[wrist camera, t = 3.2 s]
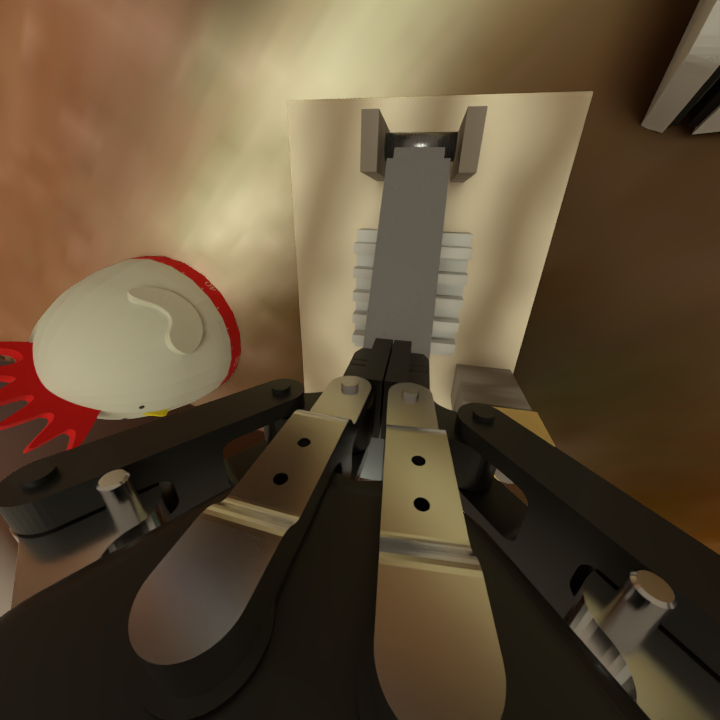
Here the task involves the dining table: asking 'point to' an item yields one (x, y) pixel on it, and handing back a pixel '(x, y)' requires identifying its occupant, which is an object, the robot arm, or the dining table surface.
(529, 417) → the block
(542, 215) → the cream board with rail
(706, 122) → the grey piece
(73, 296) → the kitchen timer
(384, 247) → the strap
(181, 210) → the dining table surface
